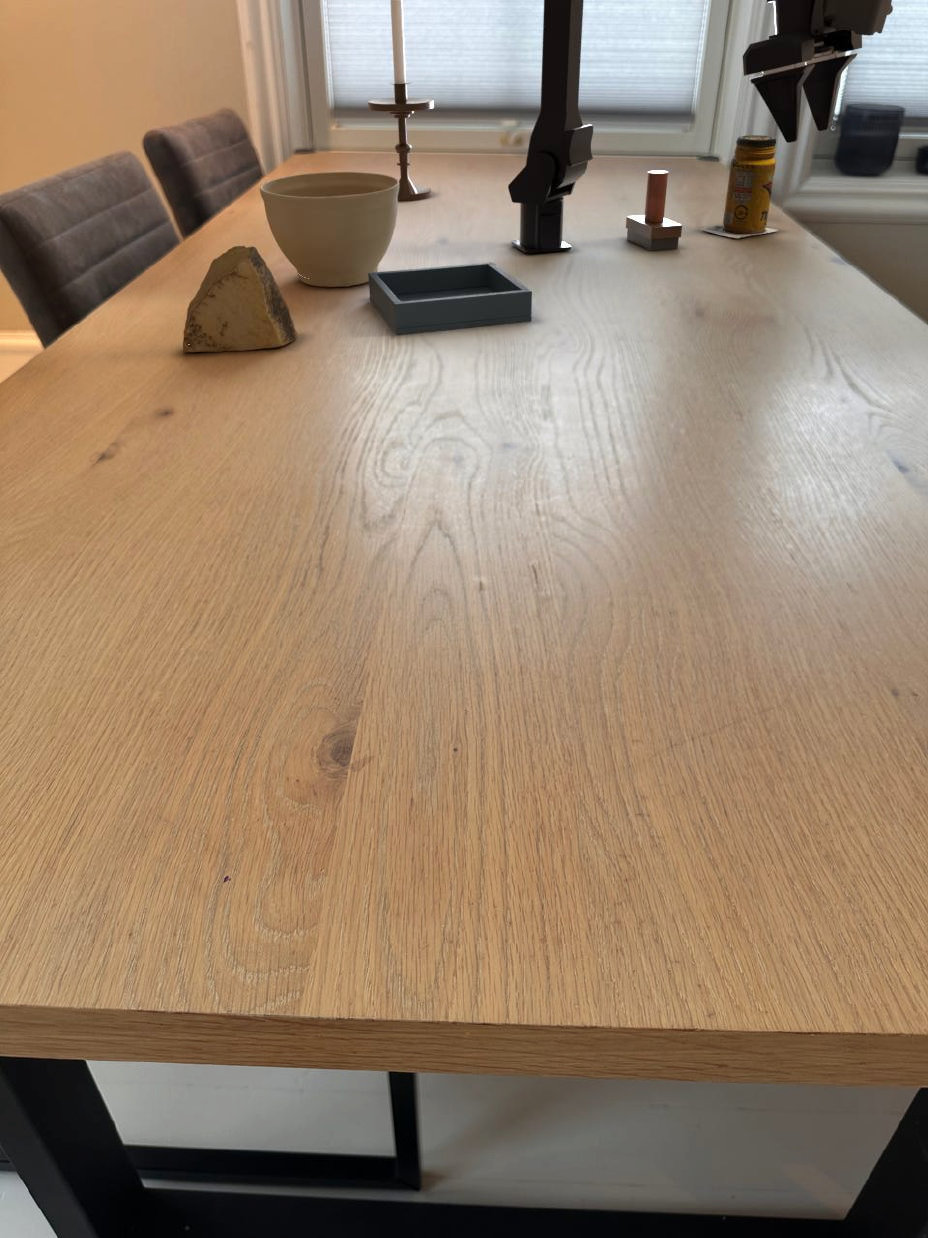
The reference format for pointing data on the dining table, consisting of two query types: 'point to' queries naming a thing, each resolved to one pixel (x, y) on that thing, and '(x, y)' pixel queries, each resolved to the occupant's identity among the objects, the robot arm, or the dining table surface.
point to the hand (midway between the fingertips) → (808, 135)
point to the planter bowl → (332, 223)
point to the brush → (654, 218)
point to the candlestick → (402, 106)
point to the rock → (238, 307)
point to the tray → (449, 298)
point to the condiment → (748, 188)
